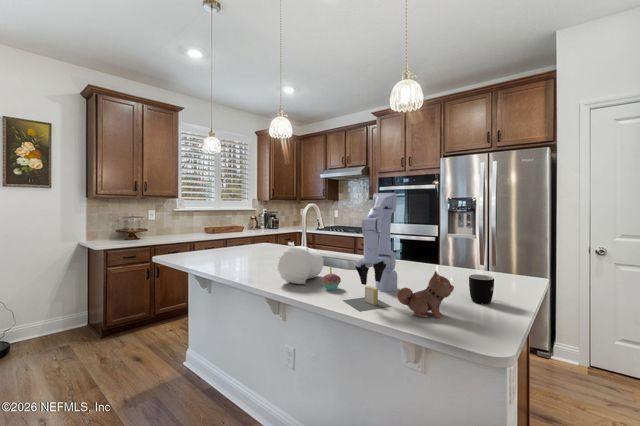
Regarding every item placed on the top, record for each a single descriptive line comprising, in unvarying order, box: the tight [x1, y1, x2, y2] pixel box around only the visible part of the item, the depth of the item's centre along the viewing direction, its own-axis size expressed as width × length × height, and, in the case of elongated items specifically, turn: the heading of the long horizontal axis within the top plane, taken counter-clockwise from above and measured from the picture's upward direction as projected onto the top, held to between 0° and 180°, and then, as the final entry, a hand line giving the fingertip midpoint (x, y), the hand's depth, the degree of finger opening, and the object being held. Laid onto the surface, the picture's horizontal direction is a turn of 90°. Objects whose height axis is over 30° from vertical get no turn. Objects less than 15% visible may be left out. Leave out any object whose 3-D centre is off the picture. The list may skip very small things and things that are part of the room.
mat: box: [341, 296, 392, 312], centre depth 122 cm, size 14×14×1 cm
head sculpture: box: [277, 241, 324, 285], centre depth 161 cm, size 19×20×28 cm
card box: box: [364, 285, 379, 305], centre depth 123 cm, size 2×5×6 cm, turn 35°
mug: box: [468, 273, 495, 305], centre depth 126 cm, size 12×9×10 cm
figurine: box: [397, 270, 455, 319], centre depth 112 cm, size 10×19×15 cm, turn 80°
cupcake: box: [321, 264, 342, 291], centre depth 143 cm, size 9×8×12 cm
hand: (370, 282), depth 123 cm, fingers open, 7 cm apart
